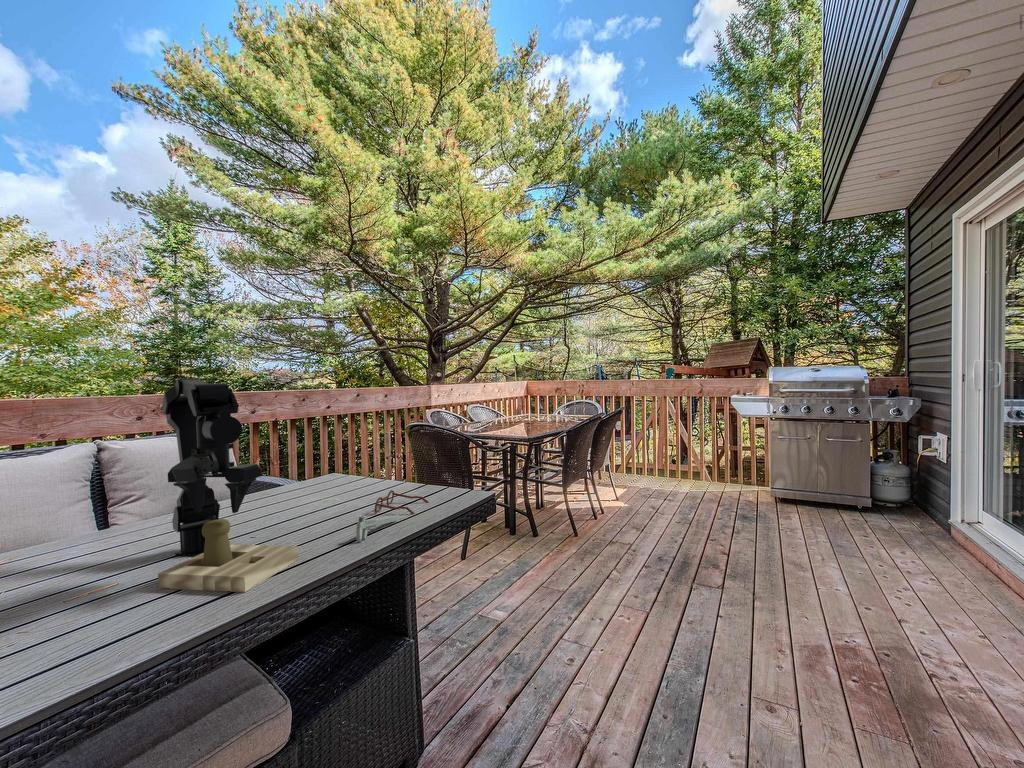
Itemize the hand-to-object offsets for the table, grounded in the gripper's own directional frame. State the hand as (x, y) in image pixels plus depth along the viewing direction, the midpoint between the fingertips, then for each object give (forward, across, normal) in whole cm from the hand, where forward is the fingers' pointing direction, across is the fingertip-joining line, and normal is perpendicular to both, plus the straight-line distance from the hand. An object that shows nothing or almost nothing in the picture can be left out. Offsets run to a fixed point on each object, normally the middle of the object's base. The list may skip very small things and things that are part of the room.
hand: (216, 512), depth 99 cm
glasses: (+14, +21, +49) cm, 55 cm away
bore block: (+13, +4, -1) cm, 13 cm away
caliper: (+13, +24, +29) cm, 40 cm away
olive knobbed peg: (+13, 0, -1) cm, 13 cm away
